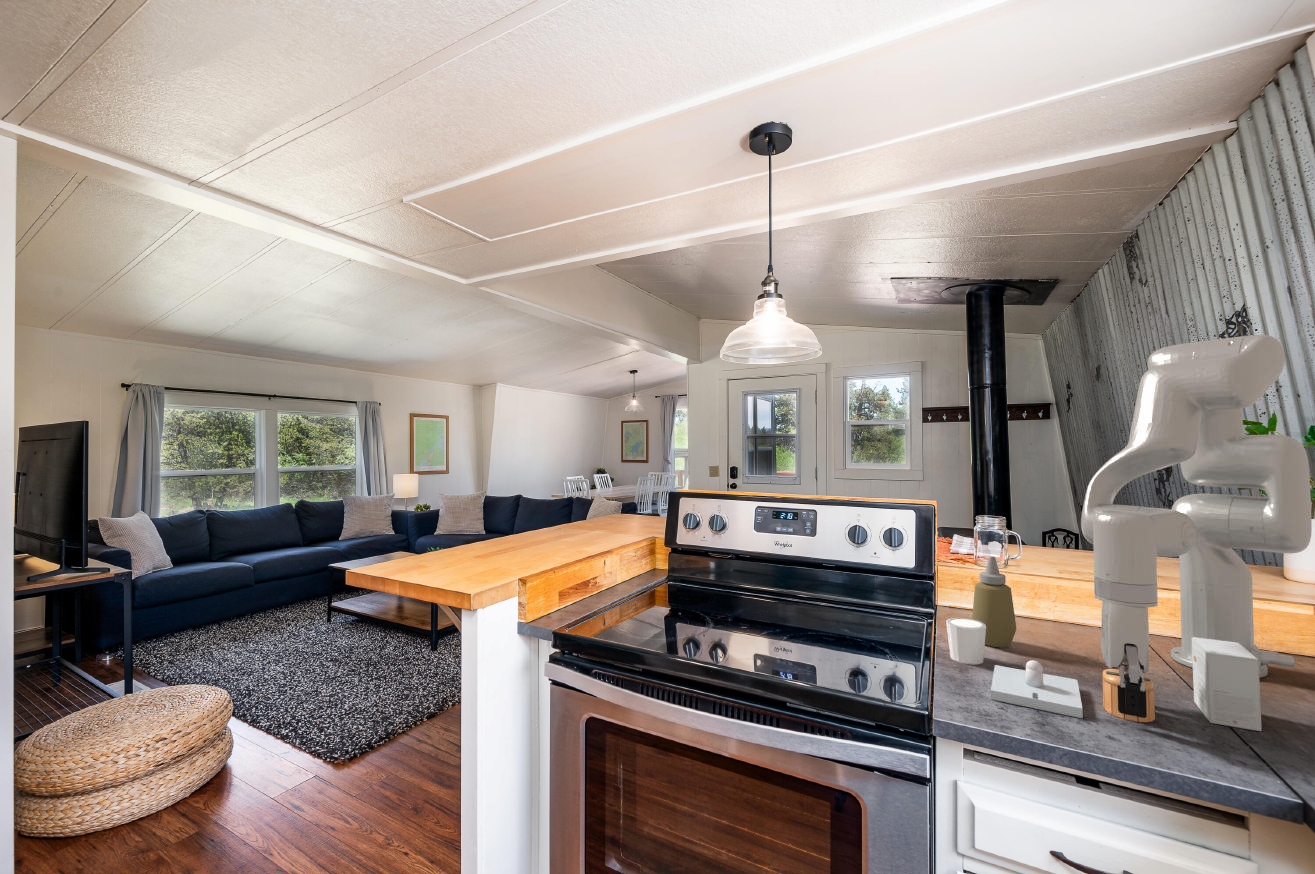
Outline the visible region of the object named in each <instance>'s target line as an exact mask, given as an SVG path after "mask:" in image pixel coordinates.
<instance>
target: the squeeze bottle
mask: <svg viewBox="0 0 1315 874" xmlns="http://www.w3.org/2000/svg"><path fill="white" fill-rule="evenodd" d="M986 563H987V564H986V569H985V571H982V572H980V573H979V582H977V583H975V585H974V593H973V603H972V604H973V605H972V617H971V619H972V620H976V621H980V622H982V623H984V624H985V625H986V635H985V645H986V646H988V647H993V648H1008V647H1011V645H1012V643H1013V640H1014V637H1015V635H1016V632H1017V623H1016V616H1015V608H1014V600H1013V594H1012V588H1011V587H1010V586H1009V585H1007V584H1006V582H1007V581H1006V575H1005V574H1004V573H1001V572H1000V569H999V566H998V563H997V558H996V556H992V555H991V556H990V555H989V556H988V559H987V562H986Z"/></svg>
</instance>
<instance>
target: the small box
mask: <svg viewBox="0 0 1315 874" xmlns="http://www.w3.org/2000/svg"><path fill="white" fill-rule="evenodd" d="M1192 661H1193V668H1192V675H1193V676H1192V677H1193V678H1192V680H1193V681H1192V683H1193V702H1194V704H1196V706H1197V707H1198V708H1199V710H1200V711H1201V712H1202V714H1203V715H1204V716H1205V718H1206V719H1207V720H1208V722H1209V723H1210V724H1216V725H1222V726H1227V727H1232V728H1237V729H1238V728H1240V729H1245V730H1249V731H1256V732H1262V730H1263V729H1262V706H1261V705H1262V704H1261V686H1260V678H1259V660H1258V659H1257V658H1256V657H1255V656H1254V655H1252V654H1251V653H1250V652H1249V651H1248V650H1246V649H1245V648H1244V647H1243V646H1242V645H1240V644H1239V643H1236V642H1229V641H1220V640H1213V639H1204V638H1196V637H1192Z"/></svg>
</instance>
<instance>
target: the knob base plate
mask: <svg viewBox="0 0 1315 874" xmlns="http://www.w3.org/2000/svg"><path fill="white" fill-rule="evenodd" d="M990 700H992V701H997V702H1001V703H1003V702H1004V703H1008V704H1012V705H1017V706H1022V707H1025V708H1032V709H1036V710H1041V711H1046V712H1050V713H1055V714H1059V715H1064V716H1069V717H1074V718H1079V719H1083V717H1084V715H1083V704H1082V699H1081V693H1080V689H1079V681H1078V679H1075V678H1070V677H1064V676H1059V675H1053V674H1048V673H1044V667H1043V664H1041V663H1040V662H1039V661H1037V660H1029V661H1027V662H1026V664H1025V669H1020V668H1019V669H1018V668H1015V667H1014V668H1013V667H1010V666H1009V667H1007V666H1003V665H997V664H994V669H993V674H992V680H991V687H990Z"/></svg>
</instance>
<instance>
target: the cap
mask: <svg viewBox="0 0 1315 874" xmlns="http://www.w3.org/2000/svg"><path fill="white" fill-rule="evenodd" d="M1125 674H1126V672H1124V675H1125ZM1143 676H1144V684H1145V690H1146V707H1147V717H1146V718H1141V717H1136V716H1131V715H1126V714H1122V713H1120V712H1119V711H1118V691H1117V685H1120V681H1119V671H1118V669H1110V668H1107V669H1104V670H1103V671H1102V704H1103V709H1104V710H1105V711H1106V712H1107V713H1109V714H1110V715H1112V716H1114V717H1117V718H1121V719H1124V720H1127V721H1130V722H1131V721H1132V722H1137V723H1138V722H1139V723H1149V722H1150V723H1151V722H1153V721H1155V720H1156V710H1155V709H1156V707H1155V703H1156V702H1155V687H1154V680H1153V679H1152V678H1150V677H1149V676H1147V675H1145V674H1143Z"/></svg>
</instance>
